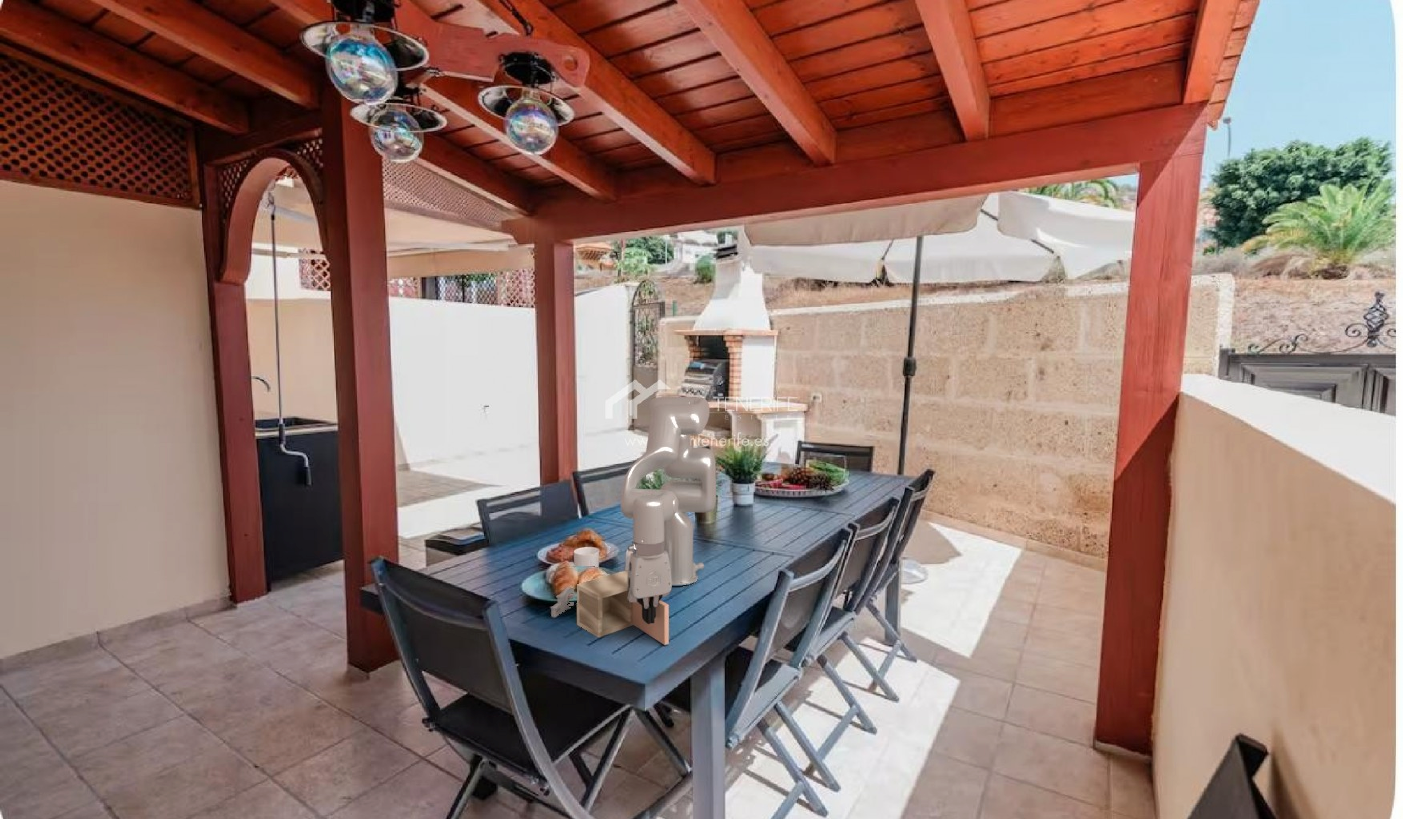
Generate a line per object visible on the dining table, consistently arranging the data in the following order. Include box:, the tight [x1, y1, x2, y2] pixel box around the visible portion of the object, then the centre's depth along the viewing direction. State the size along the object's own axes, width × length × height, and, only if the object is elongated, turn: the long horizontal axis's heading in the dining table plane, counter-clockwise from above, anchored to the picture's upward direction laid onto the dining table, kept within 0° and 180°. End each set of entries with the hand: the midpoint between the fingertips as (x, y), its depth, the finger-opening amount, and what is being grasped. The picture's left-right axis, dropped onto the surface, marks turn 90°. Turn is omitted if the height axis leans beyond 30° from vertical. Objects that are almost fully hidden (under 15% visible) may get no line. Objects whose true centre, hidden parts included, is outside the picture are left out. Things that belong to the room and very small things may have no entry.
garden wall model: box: [549, 586, 575, 618], centre depth 174 cm, size 12×2×6 cm, turn 159°
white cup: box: [573, 546, 600, 569], centre depth 195 cm, size 8×8×10 cm
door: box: [632, 597, 670, 646], centre depth 158 cm, size 15×2×10 cm, turn 37°
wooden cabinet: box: [576, 570, 634, 638], centre depth 167 cm, size 20×11×11 cm, turn 133°
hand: (648, 621), depth 152 cm, fingers closed
